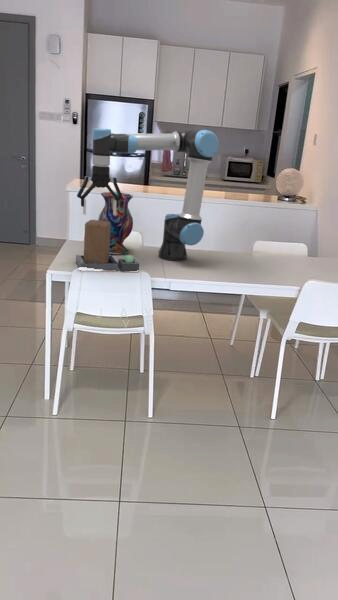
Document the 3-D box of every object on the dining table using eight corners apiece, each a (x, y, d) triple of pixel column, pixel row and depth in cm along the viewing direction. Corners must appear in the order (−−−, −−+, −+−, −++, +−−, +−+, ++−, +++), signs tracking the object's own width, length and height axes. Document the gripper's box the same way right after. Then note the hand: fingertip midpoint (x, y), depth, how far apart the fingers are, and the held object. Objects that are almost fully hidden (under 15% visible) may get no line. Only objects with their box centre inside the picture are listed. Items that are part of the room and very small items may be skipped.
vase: (97, 246, 265) (99, 190, 256) (130, 248, 268) (134, 193, 258) (95, 254, 248) (98, 194, 239) (131, 256, 251) (135, 197, 241)
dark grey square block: (134, 267, 231) (135, 259, 229) (138, 272, 223) (139, 263, 222) (117, 267, 228) (118, 259, 227) (121, 272, 221) (122, 263, 219)
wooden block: (104, 268, 220) (106, 224, 214) (82, 266, 221) (84, 222, 214) (109, 263, 229) (111, 221, 223) (88, 261, 230) (90, 219, 224)
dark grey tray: (111, 262, 235) (111, 255, 234) (117, 271, 222) (118, 263, 221) (75, 262, 229) (75, 255, 228) (80, 271, 216) (80, 263, 215)
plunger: (131, 265, 228) (132, 255, 226) (133, 267, 224) (134, 257, 222) (123, 265, 226) (123, 254, 225) (125, 267, 223) (125, 257, 221)
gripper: (126, 166, 218) (124, 213, 225) (70, 163, 210) (70, 212, 217) (131, 168, 212) (128, 216, 219) (73, 164, 204) (72, 215, 211)
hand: (99, 214), depth 218 cm, fingers open, 13 cm apart
